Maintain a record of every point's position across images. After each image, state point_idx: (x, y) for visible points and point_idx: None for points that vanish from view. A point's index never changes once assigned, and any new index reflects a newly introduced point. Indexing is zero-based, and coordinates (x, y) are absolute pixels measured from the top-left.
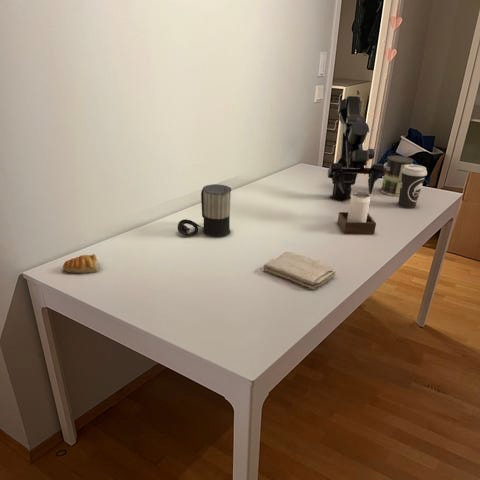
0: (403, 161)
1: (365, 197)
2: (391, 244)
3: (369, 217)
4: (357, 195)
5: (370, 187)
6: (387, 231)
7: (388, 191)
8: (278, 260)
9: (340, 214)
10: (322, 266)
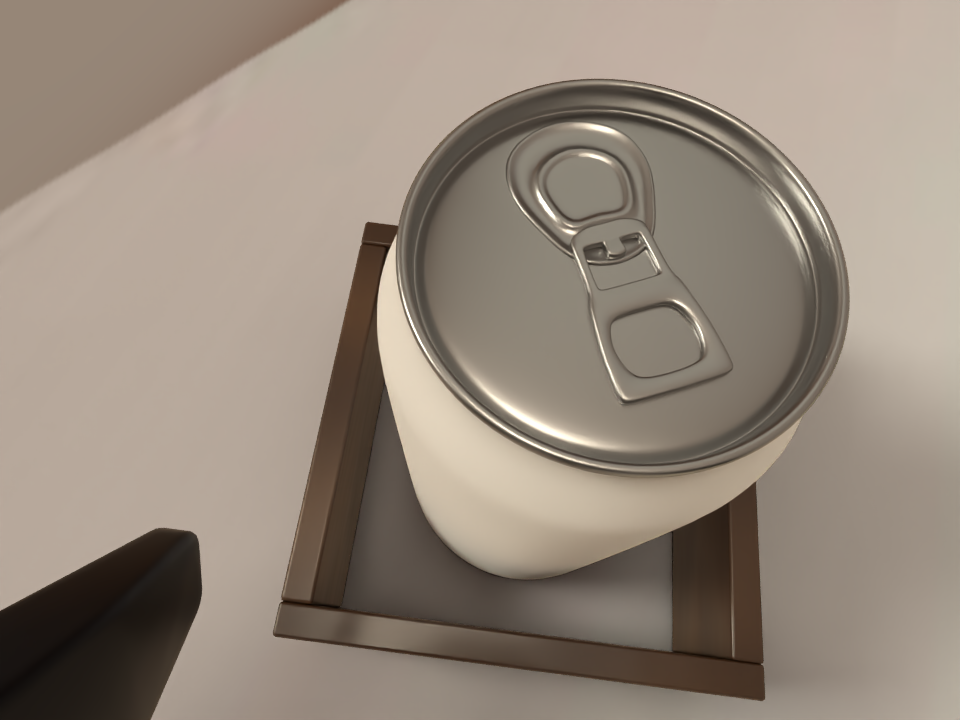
0: None
1: (572, 87)
2: (330, 88)
3: (349, 429)
4: (710, 273)
5: (80, 654)
6: (185, 352)
7: None
8: None
9: (759, 580)
10: None
